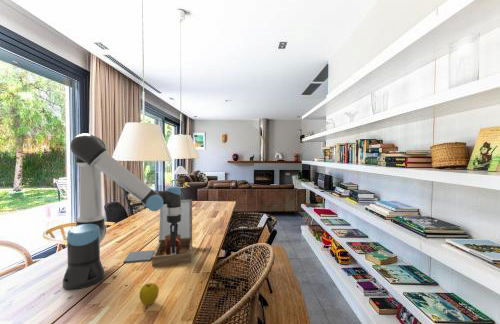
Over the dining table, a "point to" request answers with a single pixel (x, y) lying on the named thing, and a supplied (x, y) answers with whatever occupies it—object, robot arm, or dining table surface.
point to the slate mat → (139, 256)
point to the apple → (149, 293)
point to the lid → (183, 225)
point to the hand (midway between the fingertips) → (174, 254)
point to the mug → (178, 244)
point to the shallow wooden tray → (172, 258)
